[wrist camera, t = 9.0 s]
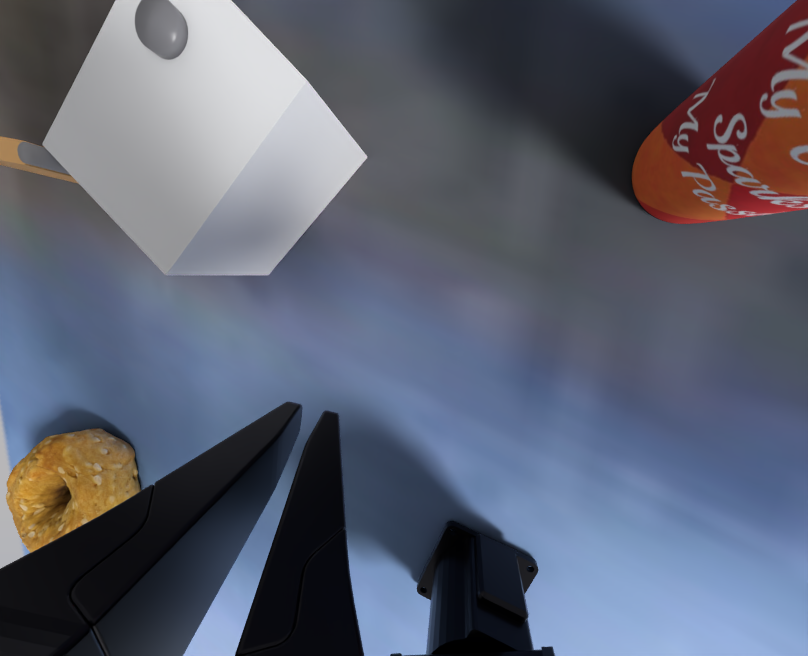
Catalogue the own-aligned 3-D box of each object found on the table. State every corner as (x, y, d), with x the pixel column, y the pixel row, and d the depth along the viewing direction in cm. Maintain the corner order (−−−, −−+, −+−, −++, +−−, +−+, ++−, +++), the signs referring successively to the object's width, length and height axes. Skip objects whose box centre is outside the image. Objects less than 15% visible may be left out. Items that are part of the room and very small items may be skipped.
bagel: (172, 480, 26) (107, 525, 21) (113, 544, 29) (45, 596, 24) (92, 394, 26) (11, 419, 21) (42, 466, 29) (-39, 503, 24)
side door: (86, 185, 22) (-107, 139, 15) (86, 166, 22) (-111, 109, 14) (187, 205, 21) (34, 166, 13) (188, 185, 21) (32, 134, 13)
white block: (367, 157, 18) (300, 71, 11) (268, 275, 21) (154, 276, 13) (260, 43, 18) (114, -125, 11) (173, 175, 21) (3, 117, 13)
